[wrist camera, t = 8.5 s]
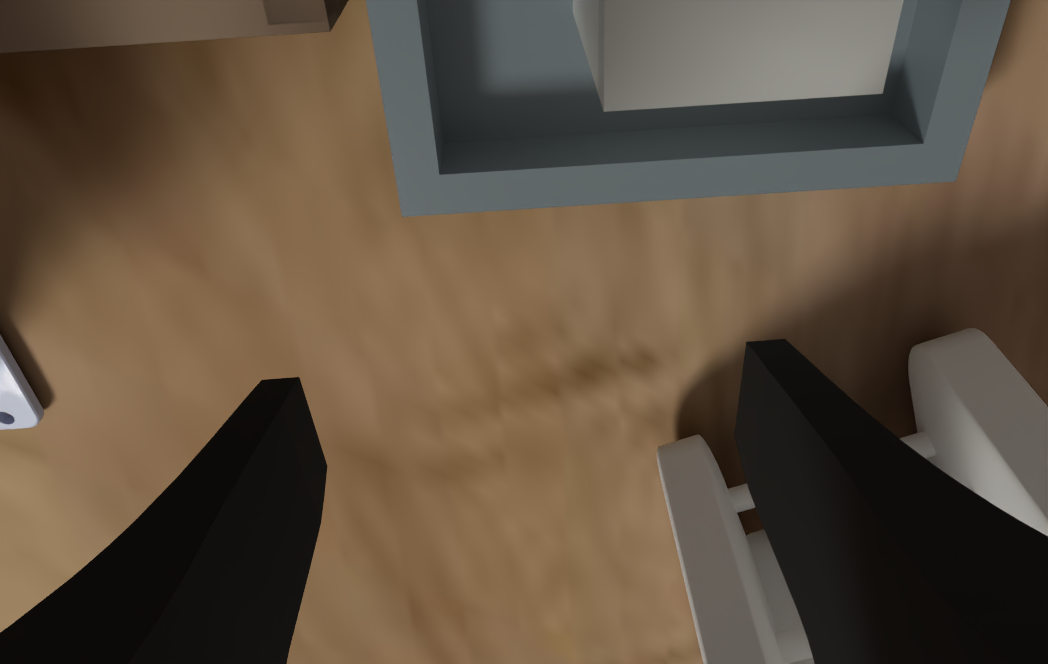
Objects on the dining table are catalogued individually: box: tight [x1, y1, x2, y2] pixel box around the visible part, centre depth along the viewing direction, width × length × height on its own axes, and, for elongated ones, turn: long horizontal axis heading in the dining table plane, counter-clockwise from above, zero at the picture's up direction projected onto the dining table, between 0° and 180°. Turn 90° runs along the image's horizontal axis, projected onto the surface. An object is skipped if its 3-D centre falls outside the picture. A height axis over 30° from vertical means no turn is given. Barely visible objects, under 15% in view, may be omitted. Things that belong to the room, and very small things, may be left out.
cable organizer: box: [657, 328, 1048, 664], centre depth 24 cm, size 15×11×12 cm
